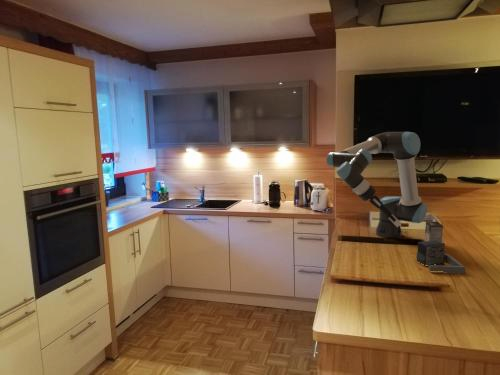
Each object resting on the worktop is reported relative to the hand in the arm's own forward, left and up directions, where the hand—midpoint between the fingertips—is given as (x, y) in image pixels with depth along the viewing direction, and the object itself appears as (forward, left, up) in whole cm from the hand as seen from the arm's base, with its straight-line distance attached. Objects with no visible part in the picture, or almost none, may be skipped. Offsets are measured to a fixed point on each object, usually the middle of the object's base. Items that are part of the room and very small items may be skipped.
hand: (399, 224), depth 177 cm
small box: (-3, +16, -20) cm, 26 cm away
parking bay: (0, +20, -20) cm, 28 cm away
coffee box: (-18, +23, -20) cm, 35 cm away
